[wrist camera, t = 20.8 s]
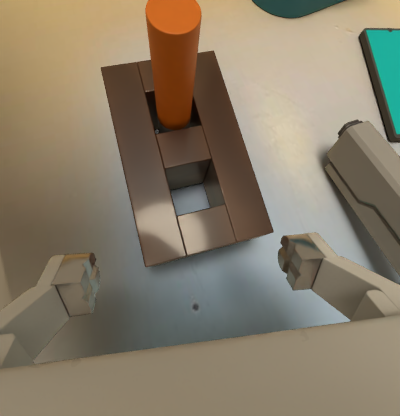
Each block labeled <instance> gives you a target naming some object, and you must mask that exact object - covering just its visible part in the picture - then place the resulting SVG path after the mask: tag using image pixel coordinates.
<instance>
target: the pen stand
mask: <svg viewBox="0 0 400 416" xmlns="http://www.w3.org/2000/svg"><path fill="white" fill-rule="evenodd" d="M101 71H102V76H103V80H104V85H105V89H106V94H107V98H108V103H109V107H110V112H111V116H112V121H113V125H114V129H115V134H116V138H117V143H118V147H119V152H120V156H121V161H122V165H123V170H124V174H125V179H126V183H127V187H128V192H129V196H130V201H131V205H132V210H133V214H134V219H135V223H136V228H137V232H138V237H139V241H140V246H141V250H142V254H143V259H144V263H145V267H153V266H157V265H160V264H164V263H168V262H171V261H175V260H179V259H182V258H186V257H189V256H193V255H197V254H200V253H204V252H208V251H211V250H215V249H218V248H222V247H226V246H229V245H233V244H237V243H240V242H244V241H247V240H251V239H254V238H257V237H260V236H263V235H267V234H270V233H273V228H272V225H271V222H270V219H269V216H268V213H267V210H266V207H265V204H264V201H263V198H262V195H261V192H260V189H259V186H258V183H257V180H256V177H255V174H254V171H253V168H252V165H251V162H250V159H249V156H248V153H247V150H246V147H245V144H244V141H243V138H242V134H241V131H240V128H239V125H238V122H237V119H236V116H235V113H234V110H233V107H232V104H231V101H230V98H229V95H228V92H227V89H226V86H225V83H224V80H223V77H222V74H221V71H220V68H219V65H218V62H217V59H216V56H215V53H214V51H208V52H201V53H197V62H196V71H195V80H194V89H193V98H192V108H191V117H190V126H189V128H185V129H180V130H175V131H170V132H165V133H159V134H155V130H156V129H159V125H158V116H157V108H156V99H155V90H154V82H153V73H152V64H151V60H147V61H140V62H134V63H127V64H120V65H113V66H107V67H101ZM199 183H204V186H205V190H206V193H207V197H208V200H209V204H210V207H211V208H208V209H204V210H200V211H196V212H192V213H188V214H184V215H180V216H177V215H176V212H175V208H174V204H173V200H172V196H171V192H170V190H173V189H177V188H181V187H186V186H190V185H194V184H199Z"/></svg>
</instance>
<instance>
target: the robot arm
mask: <svg viewBox="0 0 400 416" xmlns="http://www.w3.org/2000/svg"><path fill="white" fill-rule="evenodd" d="M281 244H282V246H283V247H282V248H281V249H279V251H278V263H279V266H280V268H281V270H282V271H283V272H285V273H286V274H287V277H286V279H287V281H288V283H289V284H290V286H291V288H292V290H304V289H312V291H314V292H315V293H316V294H318V295H319V296H320V297H322V298H323V299H324V300H325V301H327V302H328V303H329V304H331V305H332V306H333V307H334V308H336V309H337V310H338V311H340V312H341V313H342V314H343V315H345V316H346V317H347V318H349V319H350V320H351V321H350V322H344V323H336V324H329V325H322V326H314V327H307V328H299V329H292V330H285V331H277V332H270V333H263V334H255V335H248V336H241V337H233V338H226V339H218V340H211V341H203V342H196V343H188V344H181V345H173V346H166V347H159V348H151V349H144V350H136V351H129V352H121V353H114V354H107V355H99V356H92V357H84V358H77V359H69V360H62V361H55V362H47V363H40V364H35V363H34V362H33V360H34V359H35V358H36V356H37V355H38V354H39V353H40V352H41V351H42V350H43V348H44V347H45V346H46V345H47V344H48V343H49V341H50V340H51V339H52V338H53V337H54V336H55V335H56V333H57V332H58V331H59V330H60V329H61V328H62V326H63V325H64V324H65V323H66V322H67V321H68V320H69V318H70V317H72V316H79V315H86V314H92V313H93V309H94V306H95V302H96V297H95V293H96V292H97V291H98V290H99V286H100V271H99V268H98V267H97V266H96V265H94V264H95V261H96V258H95V255H94V253H77V254H67V255H54V256H52V257H51V258H50V260H49V262H48V263H47V265H46V267H45V269H44V271H43V273H42V275H41V277H40V279H39V280H38V282H37V284H36V286H35V287H32V288H30V289H28V290H27V291H26V292H24V293H23V294H22V295H20V296H19V297H17V298H16V299H15V300H13V301H12V302H11V303H9V305H7V306H5V307H4V308H3V309H1V310H0V416H400V285H399V284H397V283H395V282H393V281H391V280H388V279H386V278H384V277H382V276H380V275H378V274H376V273H374V272H372V271H370V270H368V269H366V268H364V267H362V266H360V265H358V264H356V263H354V262H352V261H350V260H348V259H346V258H344V257H342V256H339V257H338V256H337V255H336V254H335V252H334V251H333V250H332V249H331V248H330V247H329V245H328V244H327V243H326V242H325V241H324V240H323V239H322V237H321V236H320V235H319V234H318V233H316V232H314V233H305V234H297V235H286V236H283V237H282V239H281Z"/></svg>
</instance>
